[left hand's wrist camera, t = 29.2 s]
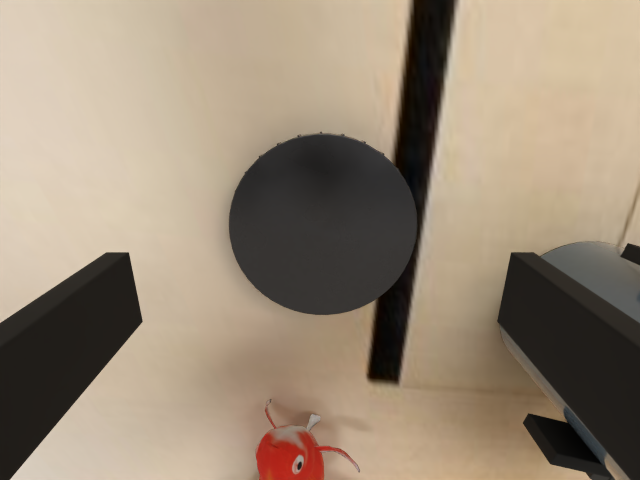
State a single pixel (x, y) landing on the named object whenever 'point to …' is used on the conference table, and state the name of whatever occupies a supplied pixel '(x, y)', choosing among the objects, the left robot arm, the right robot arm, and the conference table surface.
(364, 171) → the lid
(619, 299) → the jar
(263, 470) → the fish
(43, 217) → the conference table surface
